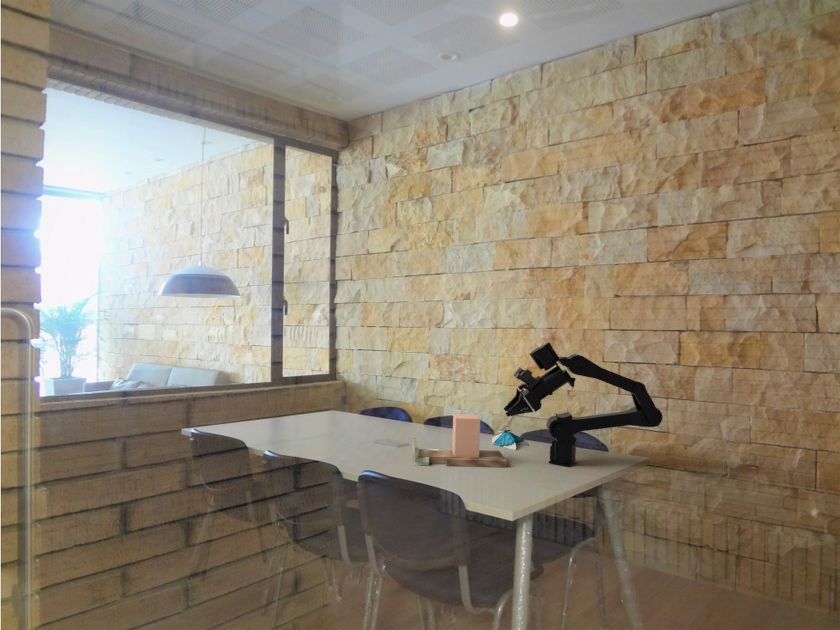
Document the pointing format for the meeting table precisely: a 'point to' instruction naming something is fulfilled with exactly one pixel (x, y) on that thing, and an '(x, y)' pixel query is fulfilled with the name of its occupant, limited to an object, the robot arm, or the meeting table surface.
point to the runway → (457, 458)
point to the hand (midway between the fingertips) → (505, 412)
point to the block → (466, 435)
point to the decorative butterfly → (508, 440)
